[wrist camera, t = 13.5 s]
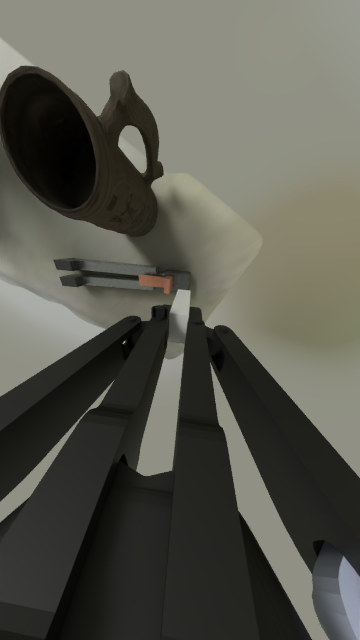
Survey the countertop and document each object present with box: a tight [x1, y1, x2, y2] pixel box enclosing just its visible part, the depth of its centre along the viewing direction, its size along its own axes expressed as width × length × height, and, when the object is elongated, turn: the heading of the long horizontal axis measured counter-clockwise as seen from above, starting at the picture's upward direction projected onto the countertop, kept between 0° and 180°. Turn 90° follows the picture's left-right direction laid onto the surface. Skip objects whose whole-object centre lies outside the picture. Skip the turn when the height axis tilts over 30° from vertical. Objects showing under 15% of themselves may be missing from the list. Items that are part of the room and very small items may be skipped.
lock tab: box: [139, 275, 173, 294], centre depth 31 cm, size 8×3×4 cm, turn 85°
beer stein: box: [0, 66, 164, 236], centre depth 20 cm, size 15×11×20 cm
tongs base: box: [54, 258, 190, 292], centre depth 34 cm, size 32×5×6 cm, turn 85°
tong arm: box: [60, 274, 156, 290], centre depth 35 cm, size 23×2×5 cm, turn 87°
